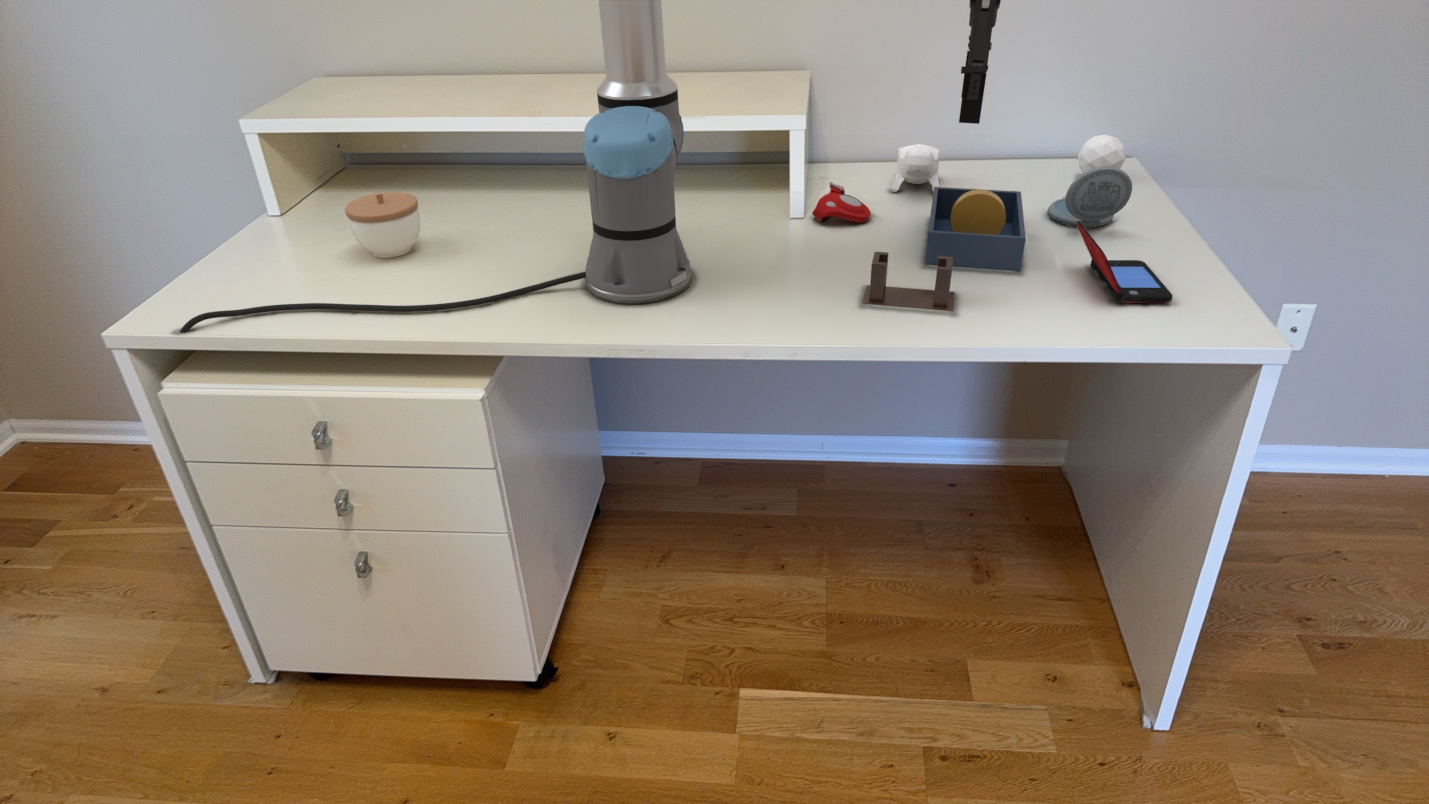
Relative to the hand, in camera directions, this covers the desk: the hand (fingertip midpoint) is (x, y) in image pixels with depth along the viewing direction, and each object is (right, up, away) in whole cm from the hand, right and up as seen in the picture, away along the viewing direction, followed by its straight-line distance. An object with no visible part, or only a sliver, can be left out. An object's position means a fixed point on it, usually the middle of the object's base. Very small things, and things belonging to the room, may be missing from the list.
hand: (969, 109), depth 129 cm
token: (+4, -17, +10) cm, 20 cm away
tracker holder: (-15, -10, +23) cm, 29 cm away
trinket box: (-88, -18, +14) cm, 90 cm away
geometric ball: (+32, -2, +34) cm, 47 cm away
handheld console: (+20, -26, -3) cm, 32 cm away
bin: (+3, -18, +10) cm, 20 cm away
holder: (-10, -28, -5) cm, 30 cm away
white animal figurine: (-1, -4, +32) cm, 32 cm away
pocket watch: (+23, -12, +18) cm, 32 cm away
